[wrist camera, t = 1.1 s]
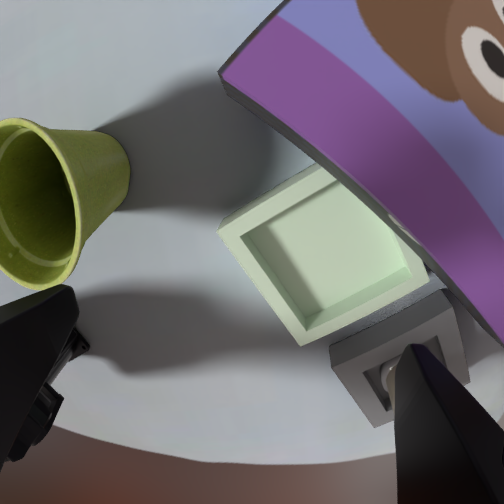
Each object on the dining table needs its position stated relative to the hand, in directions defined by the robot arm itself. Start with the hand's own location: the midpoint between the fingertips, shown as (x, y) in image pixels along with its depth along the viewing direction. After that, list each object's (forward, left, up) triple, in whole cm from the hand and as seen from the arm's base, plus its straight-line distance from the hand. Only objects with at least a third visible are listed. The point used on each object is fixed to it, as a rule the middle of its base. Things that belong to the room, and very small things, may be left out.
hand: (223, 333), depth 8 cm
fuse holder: (+3, -18, -14) cm, 23 cm away
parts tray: (+2, -5, -14) cm, 15 cm away
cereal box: (+10, +9, -10) cm, 17 cm away
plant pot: (-9, +8, -14) cm, 19 cm away
